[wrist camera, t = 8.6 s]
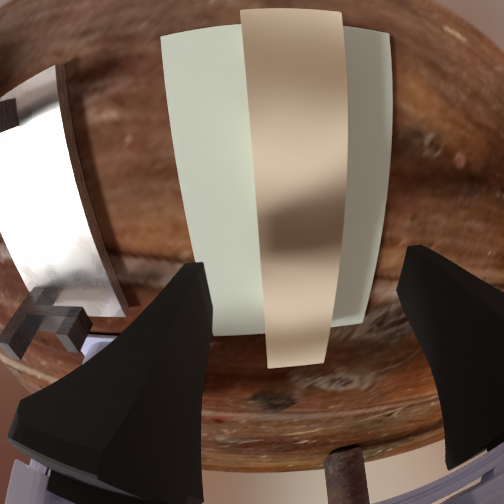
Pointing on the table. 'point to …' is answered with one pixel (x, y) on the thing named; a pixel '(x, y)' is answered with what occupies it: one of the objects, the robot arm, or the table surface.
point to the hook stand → (50, 220)
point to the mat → (242, 172)
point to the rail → (297, 171)
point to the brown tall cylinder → (346, 477)
